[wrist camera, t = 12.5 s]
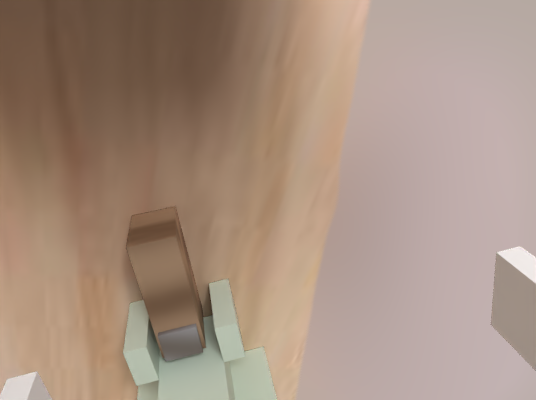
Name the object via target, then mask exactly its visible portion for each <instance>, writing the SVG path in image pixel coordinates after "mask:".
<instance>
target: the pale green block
mask: <svg viewBox="0 0 536 400" xmlns="http://www.w3.org/2000/svg"><path fill="white" fill-rule="evenodd" d="M209 288H210V296H211V304H212V312H213V315H211V316H207V317H203V321H204V332H205V342H206V348H203V352H202V353H198V354H194V355H190V356H186V357H183V358H179V359H175V360H171V361H167V362H166V360H165V358H162V355H161V351H160V348H159V345H158V342H157V339H156V336H155V333H154V330H153V327H152V324H151V321H150V318H149V315H148V312H147V309H146V306H145V303H144V300H141V301H137V302H133V303H130V307H129V314H128V321H127V328H126V335H125V342H124V349H123V354H124V357H125V359H126V362H127V364H128V366H129V369H130V371H131V374H132V376H133V379H134V381H135V384H136V386H138V395H137V400H277V397H276V393H275V389H274V385H273V381H272V377H271V374H270V370H269V366H268V362H267V358H266V354H265V350H264V347H259V348H256V349H252V350H248V351H244V348H243V343H242V338H241V333H240V328H239V323H238V318H237V313H236V308H235V304H234V300H233V296H232V292H231V288H230V284H229V280H228V279H224V280H220V281H216V282H212V283H209Z"/></svg>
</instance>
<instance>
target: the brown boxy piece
mask: <svg viewBox="0 0 536 400" xmlns="http://www.w3.org/2000/svg"><path fill="white" fill-rule="evenodd" d="M126 249H127V252H128V255H129V258H130V261H131V264H132V267H133V270H134V273H135V276H136V279H137V282H138V285H139V288H140V291H141V294H142V297H143V300H144V303H145V306H146V309H147V312H148V315H149V318H150V321H151V324H152V327H153V330H154V333H155V336H156V339H157V342H158V345H159V348H160V351H161V355H162V358H165V360H166V362H167V361H171V360H175V359H179V358H183V357H186V356H190V355H194V354H198V353H202V352H203V348H206V342H205V332H204V321H203V311H202V305H201V302H200V298H199V294H198V290H197V286H196V283H195V279H194V275H193V271H192V267H191V264H190V260H189V256H188V252H187V248H186V245H185V241H184V237H183V233H182V229H181V226H180V222H179V218H178V214H177V210H176V207H170V208H165V209H160V210H156V211H151V212H146V213H142V214H137V215H132V218H131V223H130V229H129V234H128V239H127V245H126Z"/></svg>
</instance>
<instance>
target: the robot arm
mask: <svg viewBox="0 0 536 400" xmlns="http://www.w3.org/2000/svg"><path fill="white" fill-rule="evenodd" d="M491 325H492V326H493V327H494V328H495V329H496V330H497V331H498V332H499V334H500V335H502V336H503V338H504V339H505V340H506V341H507V342H508V343H509V344H510V345H511V346H512V347H513V348H514V349H515V350H516V351H517V352H518V353H519V354H520V355H521V356H522V357H523V358H524V359H525V360H526V361H527V362H528V363H529V364H530V365H531V366H532V367H533V369H534V370H535V371H536V257H534V256H533V255H532V254H530V253H529V252H527V251H526V250H525V249H523V248H522V247H516V248H512V249H508V250H504V251H500V252H496V263H495V277H494V289H493V302H492V316H491ZM0 400H52V398H51V396H50V394H49V392H48V391H47V389H46V387H45V385H44V383H43V381H42V379H41V377H40V376H39V374H38V372H37V371H36V372H32V373H29V374H25V375H21V376H17V377H13V378H9V379H7V380H6V383H5V385H4V387H3V390H2V392H1V394H0Z"/></svg>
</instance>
